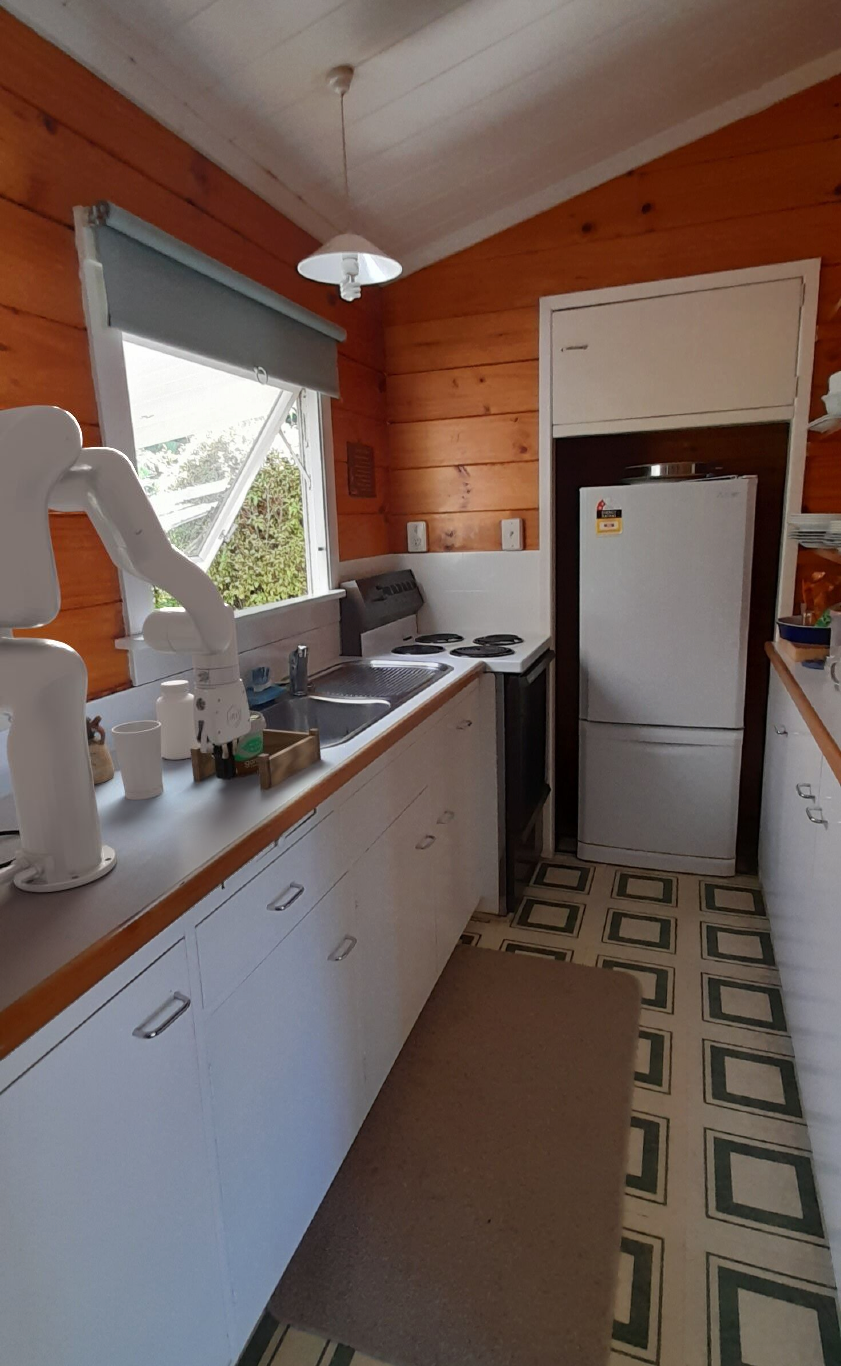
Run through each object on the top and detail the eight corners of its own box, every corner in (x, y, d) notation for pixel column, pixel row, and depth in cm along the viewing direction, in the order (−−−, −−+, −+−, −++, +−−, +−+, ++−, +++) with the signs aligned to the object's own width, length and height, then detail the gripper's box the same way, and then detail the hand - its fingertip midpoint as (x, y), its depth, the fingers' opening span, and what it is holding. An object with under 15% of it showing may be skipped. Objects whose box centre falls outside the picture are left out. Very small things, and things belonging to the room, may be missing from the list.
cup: (137, 784, 133) (129, 720, 131) (177, 785, 131) (169, 720, 129) (110, 800, 125) (101, 732, 123) (152, 802, 124) (144, 733, 121)
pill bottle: (191, 746, 155) (184, 676, 152) (209, 754, 150) (202, 681, 146) (155, 755, 150) (146, 683, 147) (172, 763, 144) (163, 688, 141)
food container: (246, 782, 132) (241, 728, 130) (217, 779, 134) (212, 726, 132) (281, 761, 143) (277, 711, 141) (254, 759, 145) (250, 709, 143)
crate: (267, 789, 128) (264, 756, 126) (193, 780, 134) (190, 748, 133) (320, 758, 144) (318, 728, 143) (252, 751, 150) (250, 722, 149)
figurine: (84, 772, 141) (76, 712, 138) (121, 772, 140) (113, 710, 138) (65, 786, 134) (56, 722, 131) (104, 785, 133) (95, 721, 131)
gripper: (206, 685, 118) (216, 794, 122) (261, 668, 131) (269, 766, 135) (169, 683, 121) (180, 789, 125) (226, 666, 134) (235, 763, 138)
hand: (226, 777), depth 130 cm, fingers closed
